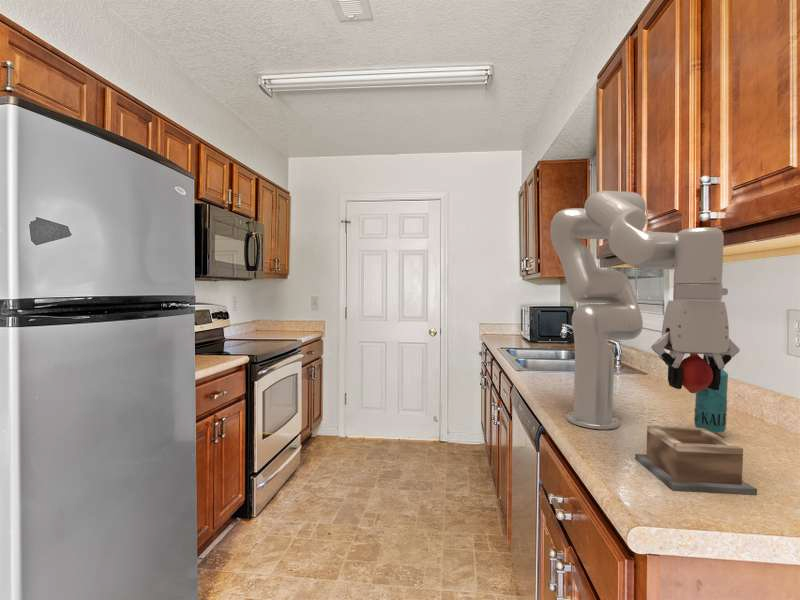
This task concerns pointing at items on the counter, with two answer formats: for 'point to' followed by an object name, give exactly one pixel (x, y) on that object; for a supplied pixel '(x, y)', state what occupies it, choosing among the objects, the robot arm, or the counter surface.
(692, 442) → the open square box
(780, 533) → the counter surface
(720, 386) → the beverage bottle
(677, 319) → the robot arm
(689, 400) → the counter surface
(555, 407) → the counter surface
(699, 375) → the pomegranate
